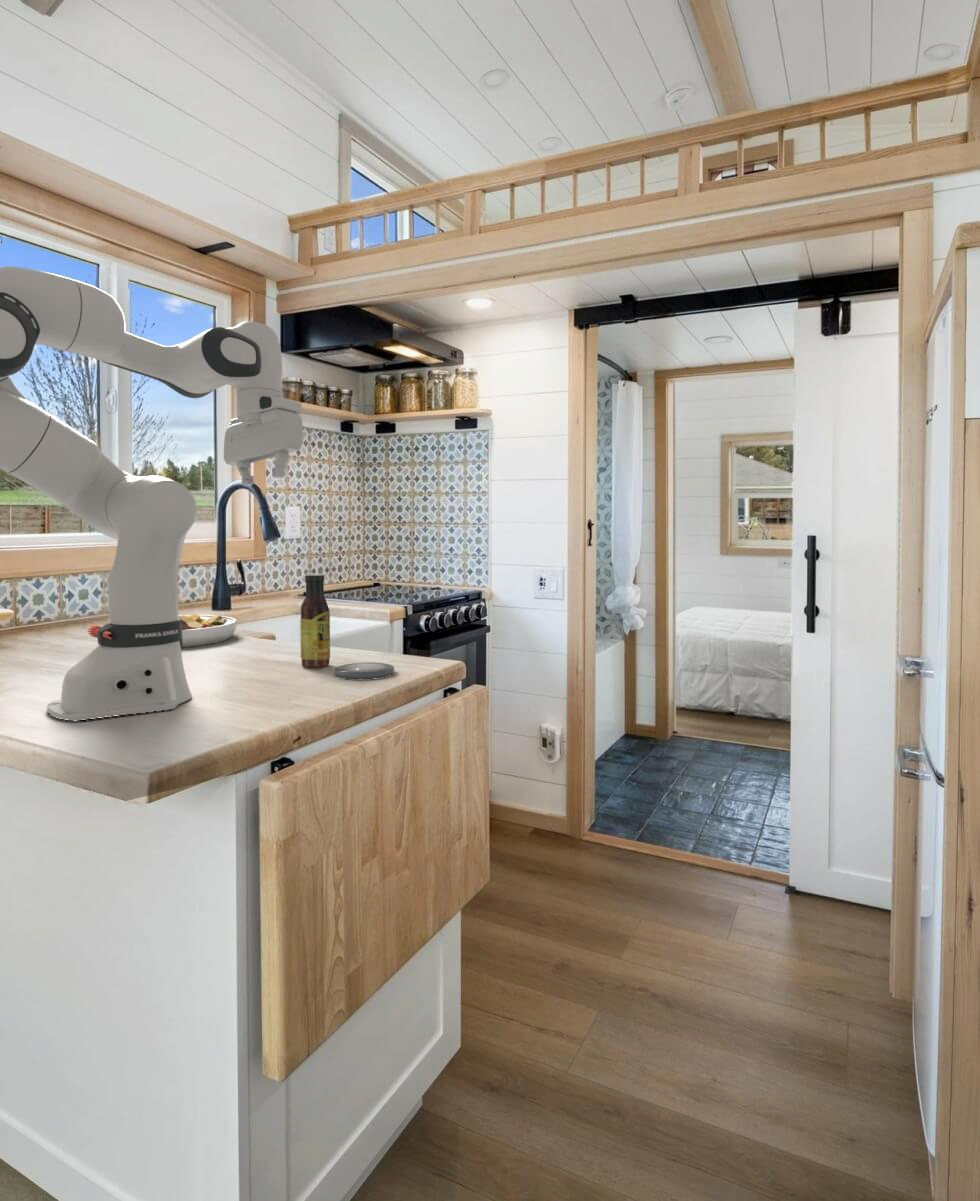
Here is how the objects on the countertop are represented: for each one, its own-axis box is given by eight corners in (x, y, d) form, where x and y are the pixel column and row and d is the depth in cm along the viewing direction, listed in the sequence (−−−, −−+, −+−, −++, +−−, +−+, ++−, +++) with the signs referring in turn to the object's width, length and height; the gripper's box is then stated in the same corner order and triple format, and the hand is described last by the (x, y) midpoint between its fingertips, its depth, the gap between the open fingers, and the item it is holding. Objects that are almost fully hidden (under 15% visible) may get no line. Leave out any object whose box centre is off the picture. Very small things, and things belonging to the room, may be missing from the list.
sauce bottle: (323, 669, 162) (321, 576, 160) (295, 668, 163) (293, 575, 161) (335, 663, 168) (333, 573, 166) (309, 662, 170) (306, 573, 167)
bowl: (113, 636, 207) (112, 607, 206) (230, 629, 219) (229, 602, 218) (110, 655, 180) (109, 622, 179) (243, 646, 192) (242, 615, 191)
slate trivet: (357, 682, 149) (357, 676, 149) (323, 673, 158) (323, 667, 158) (405, 673, 158) (405, 667, 158) (371, 665, 166) (371, 659, 166)
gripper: (214, 417, 151) (216, 487, 150) (280, 395, 139) (283, 470, 138) (241, 423, 156) (244, 491, 155) (307, 402, 144) (310, 475, 143)
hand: (263, 481), depth 147 cm, fingers open, 8 cm apart
